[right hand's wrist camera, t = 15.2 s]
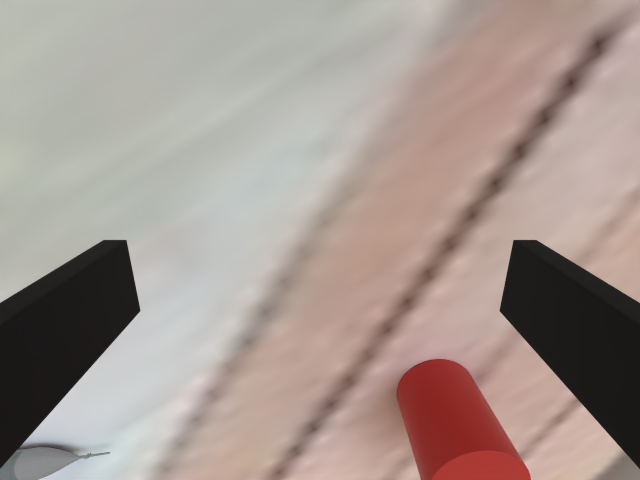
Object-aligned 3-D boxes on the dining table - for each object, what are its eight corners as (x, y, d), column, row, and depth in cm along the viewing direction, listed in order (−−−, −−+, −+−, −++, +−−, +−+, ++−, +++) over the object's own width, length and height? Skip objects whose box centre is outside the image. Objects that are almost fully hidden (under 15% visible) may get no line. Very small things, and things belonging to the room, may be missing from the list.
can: (398, 425, 35) (428, 530, 26) (394, 364, 33) (425, 457, 24) (473, 416, 35) (527, 520, 26) (474, 354, 33) (534, 445, 24)
